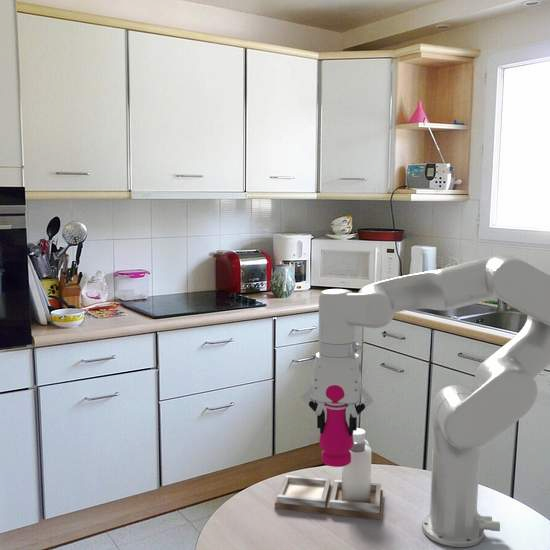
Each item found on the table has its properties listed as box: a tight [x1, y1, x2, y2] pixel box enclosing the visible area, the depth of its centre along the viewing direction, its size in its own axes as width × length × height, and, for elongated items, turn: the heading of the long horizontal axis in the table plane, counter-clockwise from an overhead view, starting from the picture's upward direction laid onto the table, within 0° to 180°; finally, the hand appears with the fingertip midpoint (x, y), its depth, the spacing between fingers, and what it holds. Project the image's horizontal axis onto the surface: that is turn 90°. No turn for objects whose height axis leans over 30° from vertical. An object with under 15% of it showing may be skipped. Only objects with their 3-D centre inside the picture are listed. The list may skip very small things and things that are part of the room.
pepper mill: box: [318, 385, 353, 468], centre depth 132 cm, size 7×7×20 cm
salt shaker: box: [341, 439, 372, 503], centre depth 144 cm, size 7×7×14 cm
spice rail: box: [274, 474, 384, 520], centre depth 146 cm, size 24×11×3 cm, turn 79°
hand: (336, 431), depth 133 cm, fingers closed on pepper mill, 5 cm apart
